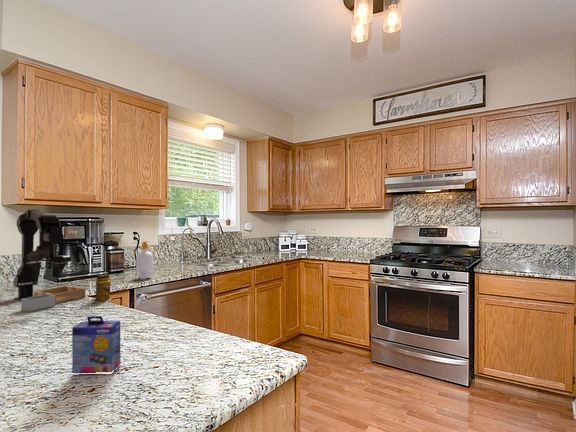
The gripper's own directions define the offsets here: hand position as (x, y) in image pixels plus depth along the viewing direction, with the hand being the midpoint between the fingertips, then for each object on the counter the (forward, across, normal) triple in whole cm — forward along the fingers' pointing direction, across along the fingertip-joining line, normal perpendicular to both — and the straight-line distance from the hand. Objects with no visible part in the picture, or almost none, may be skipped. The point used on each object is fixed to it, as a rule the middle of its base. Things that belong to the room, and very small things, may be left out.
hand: (47, 278), depth 150 cm
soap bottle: (+13, +8, +73) cm, 75 cm away
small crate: (+13, -2, -3) cm, 13 cm away
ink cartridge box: (+13, +62, -59) cm, 87 cm away
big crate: (+13, -5, +14) cm, 20 cm away
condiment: (+13, +16, +14) cm, 25 cm away
